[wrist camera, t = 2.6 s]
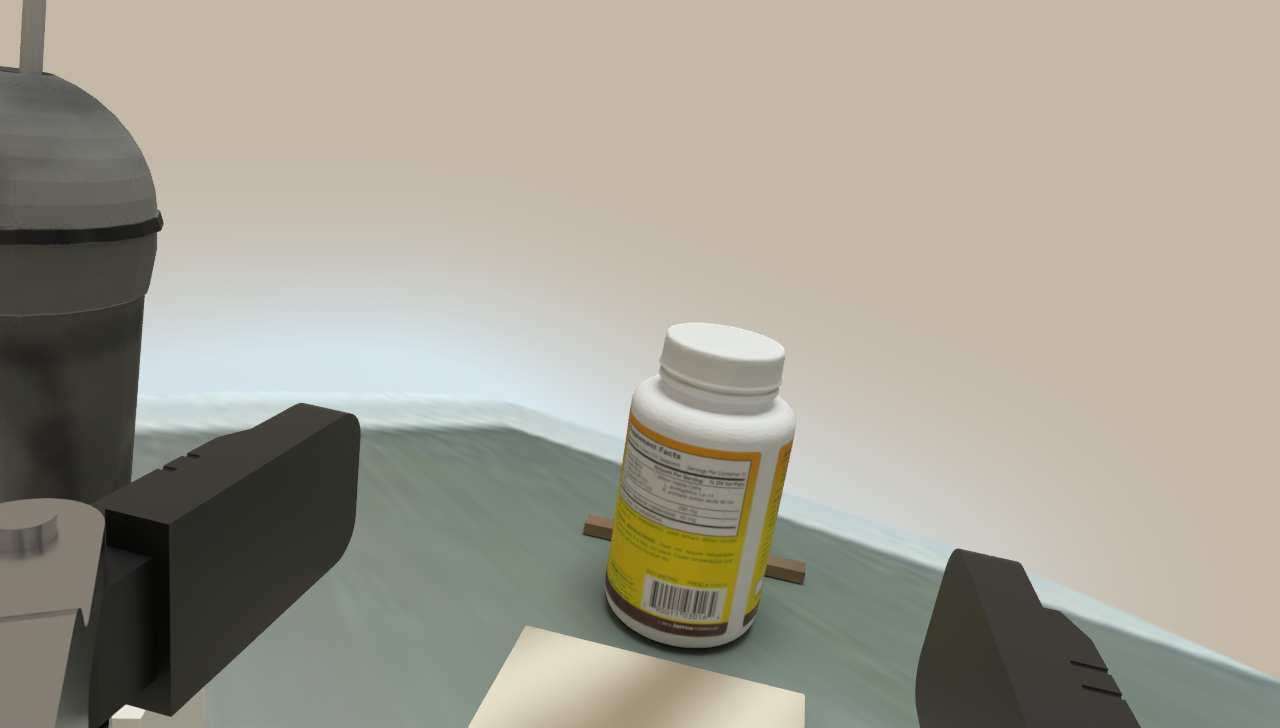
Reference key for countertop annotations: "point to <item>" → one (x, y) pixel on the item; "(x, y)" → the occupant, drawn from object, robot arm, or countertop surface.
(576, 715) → the game track
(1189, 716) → the countertop surface
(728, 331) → the supplement bottle
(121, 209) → the beverage cup
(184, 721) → the die
